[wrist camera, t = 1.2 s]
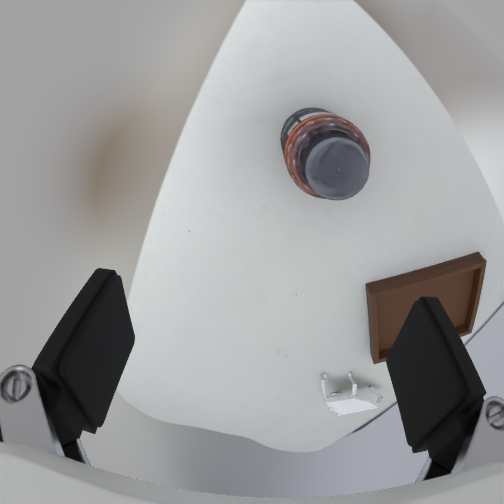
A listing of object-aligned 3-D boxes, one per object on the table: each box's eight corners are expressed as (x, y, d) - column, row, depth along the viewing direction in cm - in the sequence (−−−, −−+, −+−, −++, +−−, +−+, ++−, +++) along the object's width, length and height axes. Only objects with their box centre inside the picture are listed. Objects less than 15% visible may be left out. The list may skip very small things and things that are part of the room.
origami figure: (310, 397, 48) (312, 421, 44) (320, 369, 44) (323, 395, 40) (374, 395, 48) (379, 417, 44) (390, 367, 44) (398, 391, 39)
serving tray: (478, 251, 32) (486, 260, 30) (466, 323, 38) (471, 333, 37) (365, 283, 35) (370, 295, 33) (370, 353, 42) (373, 364, 40)
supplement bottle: (337, 171, 28) (372, 223, 19) (276, 163, 28) (281, 212, 19) (347, 112, 25) (393, 132, 16) (283, 102, 25) (294, 114, 16)
